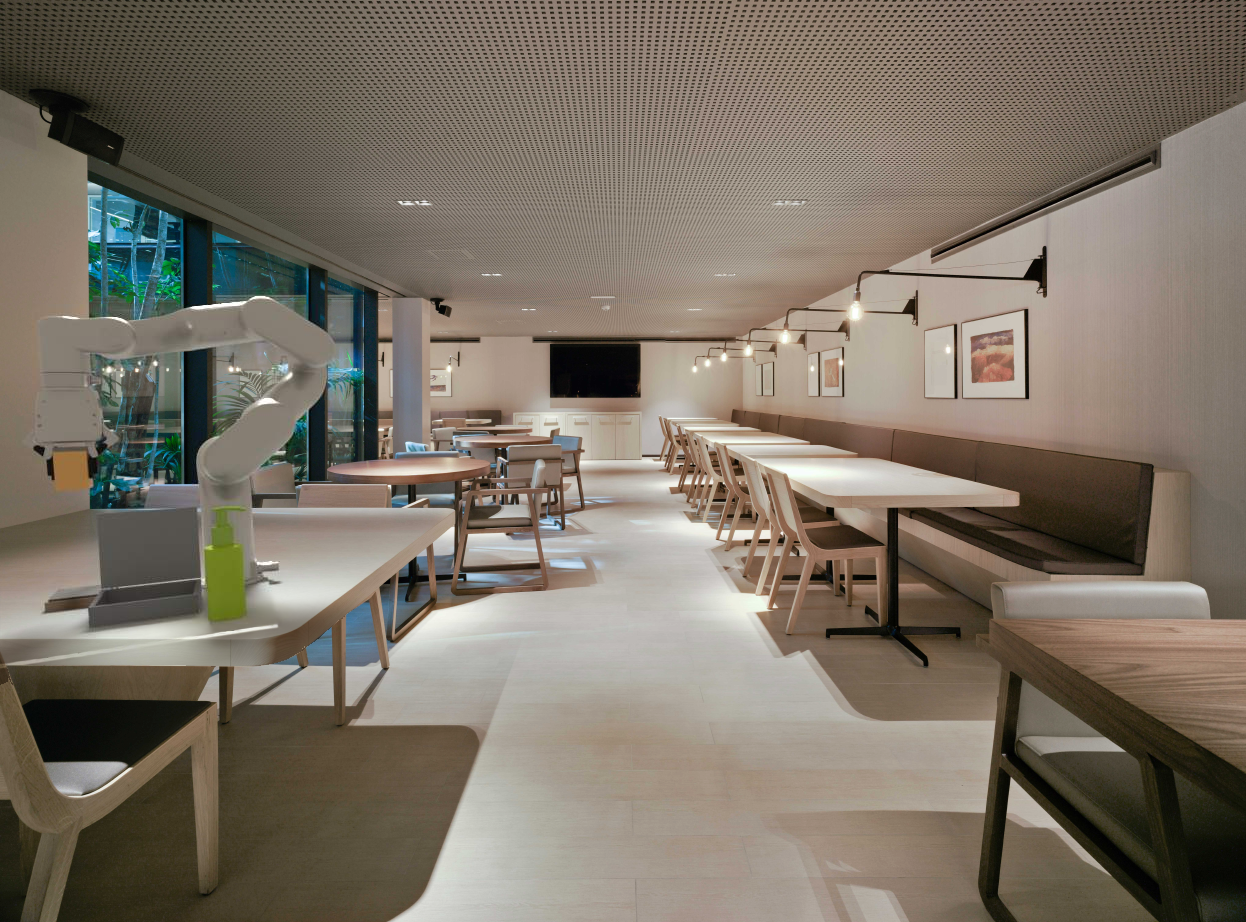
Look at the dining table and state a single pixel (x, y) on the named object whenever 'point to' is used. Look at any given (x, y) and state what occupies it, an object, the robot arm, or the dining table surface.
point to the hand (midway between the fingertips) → (74, 477)
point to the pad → (73, 598)
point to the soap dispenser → (224, 570)
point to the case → (145, 603)
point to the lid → (148, 546)
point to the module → (71, 468)
